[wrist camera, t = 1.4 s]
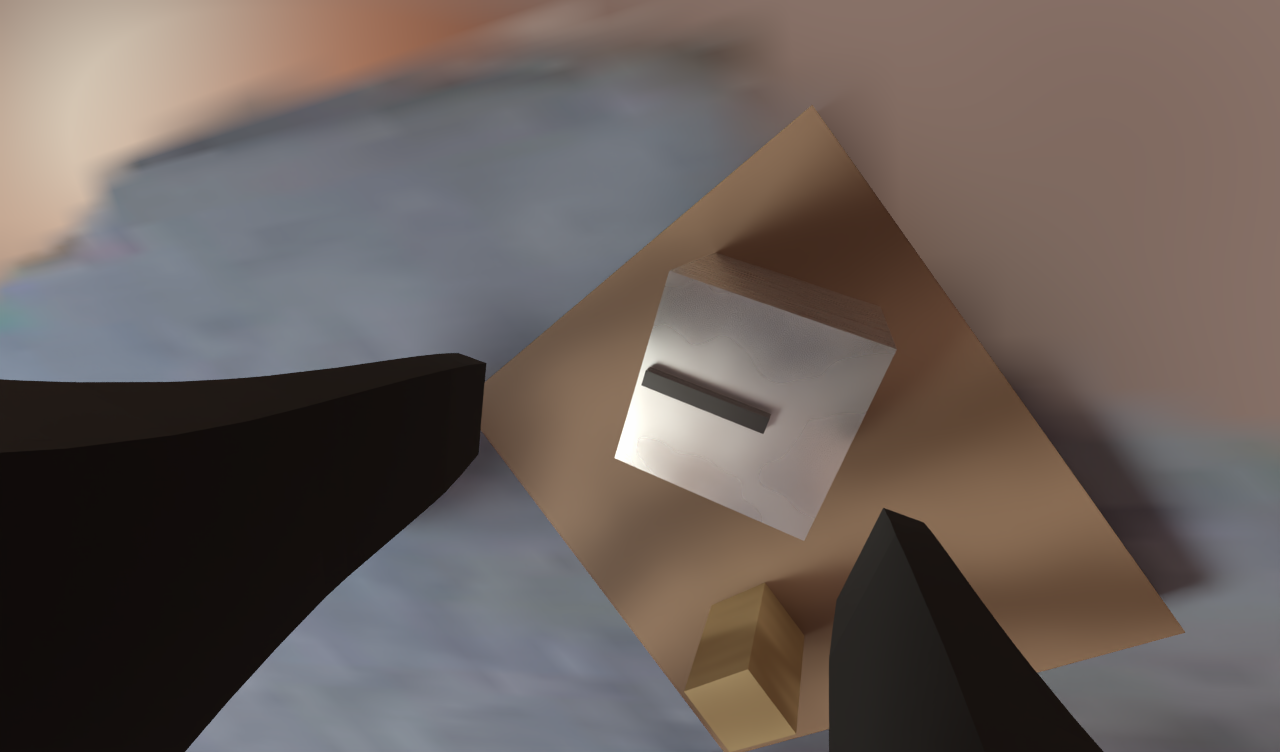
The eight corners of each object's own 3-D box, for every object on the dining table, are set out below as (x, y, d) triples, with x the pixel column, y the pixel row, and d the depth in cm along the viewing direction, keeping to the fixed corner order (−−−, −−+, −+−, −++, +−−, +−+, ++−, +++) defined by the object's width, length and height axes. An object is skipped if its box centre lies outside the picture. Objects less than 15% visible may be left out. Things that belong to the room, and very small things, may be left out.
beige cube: (880, 306, 16) (898, 353, 11) (813, 453, 17) (803, 548, 13) (715, 252, 17) (665, 272, 12) (669, 395, 18) (610, 462, 14)
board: (1157, 597, 17) (1291, 764, 12) (733, 724, 24) (705, 863, 19) (814, 113, 16) (803, 72, 11) (482, 391, 23) (384, 442, 18)
